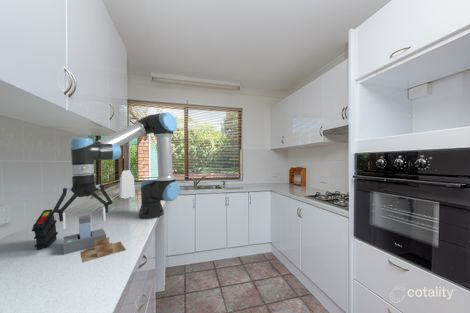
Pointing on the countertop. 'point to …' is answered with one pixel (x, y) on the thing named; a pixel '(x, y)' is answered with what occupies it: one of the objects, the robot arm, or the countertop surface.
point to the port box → (82, 241)
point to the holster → (101, 249)
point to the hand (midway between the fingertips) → (85, 224)
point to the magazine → (45, 229)
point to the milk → (126, 185)
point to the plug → (84, 226)
